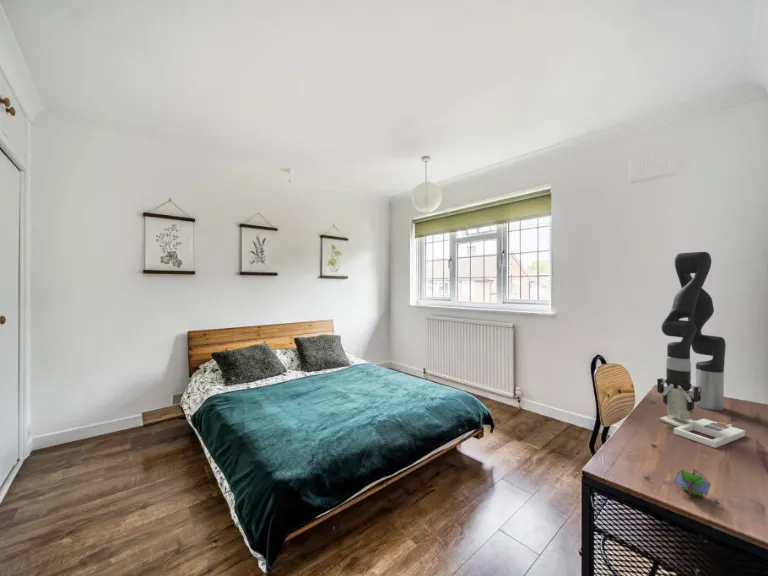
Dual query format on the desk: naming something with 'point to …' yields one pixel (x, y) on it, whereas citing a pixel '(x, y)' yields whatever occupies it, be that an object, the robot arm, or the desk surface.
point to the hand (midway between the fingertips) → (678, 407)
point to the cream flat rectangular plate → (675, 421)
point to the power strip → (710, 432)
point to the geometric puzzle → (693, 482)
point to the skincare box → (677, 404)
